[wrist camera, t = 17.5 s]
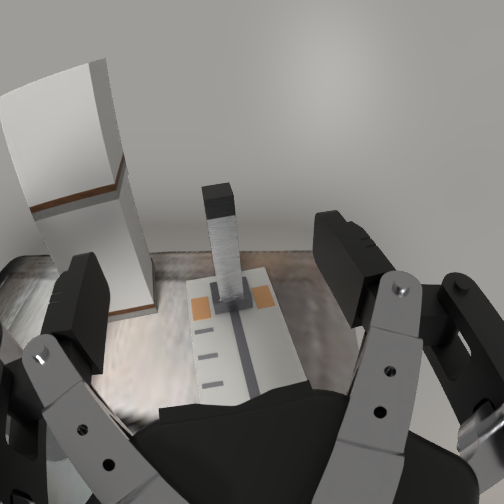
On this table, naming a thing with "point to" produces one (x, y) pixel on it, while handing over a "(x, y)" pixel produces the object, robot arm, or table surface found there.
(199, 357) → the console
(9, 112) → the display case
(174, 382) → the table surface
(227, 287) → the fader
